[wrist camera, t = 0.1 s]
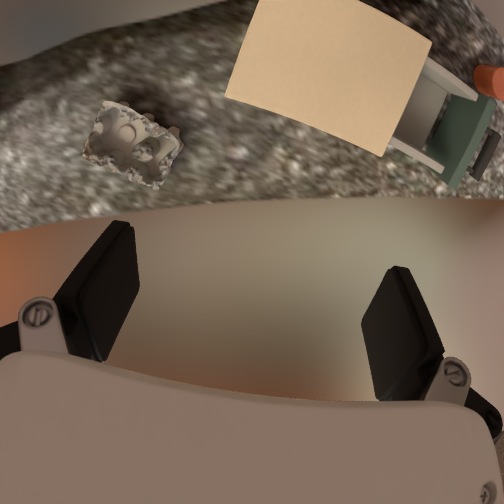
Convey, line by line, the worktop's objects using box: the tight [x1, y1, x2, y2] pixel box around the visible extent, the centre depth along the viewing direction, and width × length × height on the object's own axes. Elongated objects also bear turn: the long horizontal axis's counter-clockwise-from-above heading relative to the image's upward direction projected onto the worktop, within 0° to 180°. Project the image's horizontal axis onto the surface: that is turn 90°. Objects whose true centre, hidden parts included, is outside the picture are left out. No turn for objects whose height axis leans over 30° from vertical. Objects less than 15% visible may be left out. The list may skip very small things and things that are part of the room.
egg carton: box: [81, 101, 184, 191], centre depth 29 cm, size 11×8×4 cm
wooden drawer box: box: [225, 0, 432, 157], centre depth 22 cm, size 13×11×8 cm
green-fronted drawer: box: [388, 56, 501, 190], centre depth 23 cm, size 17×10×7 cm, turn 72°
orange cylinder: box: [473, 64, 504, 101], centre depth 21 cm, size 4×4×4 cm
